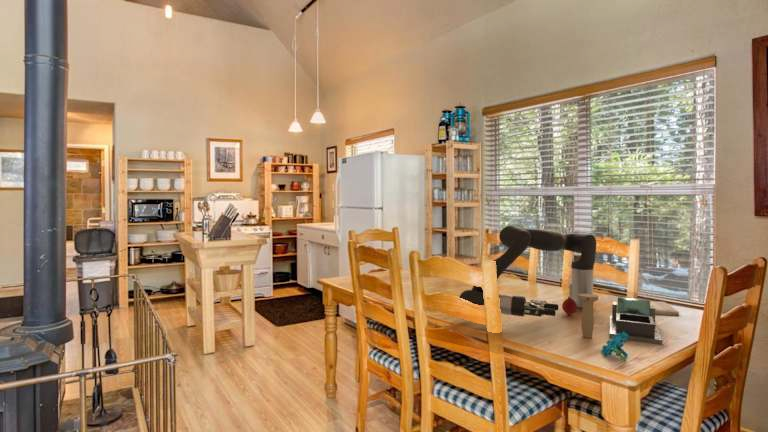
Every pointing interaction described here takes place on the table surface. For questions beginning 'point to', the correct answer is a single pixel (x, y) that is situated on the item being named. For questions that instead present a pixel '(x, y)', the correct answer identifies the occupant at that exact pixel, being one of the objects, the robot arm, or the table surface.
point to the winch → (634, 320)
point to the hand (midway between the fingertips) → (556, 310)
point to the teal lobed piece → (616, 345)
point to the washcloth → (663, 309)
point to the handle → (587, 314)
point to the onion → (569, 306)
